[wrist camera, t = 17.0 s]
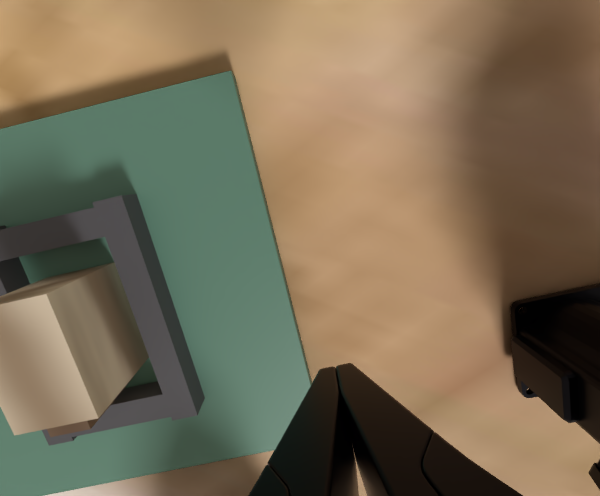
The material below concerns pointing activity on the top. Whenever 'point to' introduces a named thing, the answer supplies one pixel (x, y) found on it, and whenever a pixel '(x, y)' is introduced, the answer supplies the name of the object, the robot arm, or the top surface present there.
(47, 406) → the plug
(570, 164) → the top surface
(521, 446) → the top surface
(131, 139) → the socket board
